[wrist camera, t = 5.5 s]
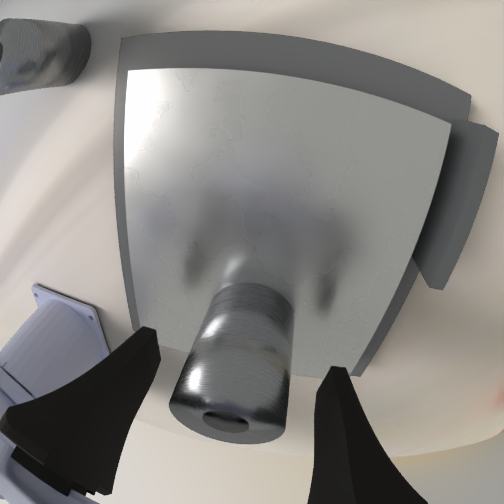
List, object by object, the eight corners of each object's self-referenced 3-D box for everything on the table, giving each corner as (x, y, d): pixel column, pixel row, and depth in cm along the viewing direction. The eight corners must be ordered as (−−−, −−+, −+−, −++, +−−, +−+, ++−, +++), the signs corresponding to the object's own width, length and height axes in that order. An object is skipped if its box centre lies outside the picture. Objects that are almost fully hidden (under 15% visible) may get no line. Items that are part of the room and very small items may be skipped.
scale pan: (344, 359, 16) (345, 381, 15) (153, 321, 17) (142, 339, 15) (432, 120, 9) (451, 124, 8) (149, 72, 10) (128, 70, 8)
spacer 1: (87, 81, 12) (10, 89, 7) (43, 90, 12) (-25, 103, 7) (95, 18, 10) (23, 6, 5) (50, 33, 10) (-18, 33, 5)
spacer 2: (288, 350, 14) (277, 450, 9) (211, 340, 14) (178, 432, 10) (300, 288, 12) (293, 404, 7) (207, 277, 12) (157, 379, 8)
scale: (362, 363, 18) (367, 408, 15) (140, 319, 19) (116, 357, 16) (462, 96, 9) (508, 101, 6) (134, 41, 10) (87, 31, 7)
